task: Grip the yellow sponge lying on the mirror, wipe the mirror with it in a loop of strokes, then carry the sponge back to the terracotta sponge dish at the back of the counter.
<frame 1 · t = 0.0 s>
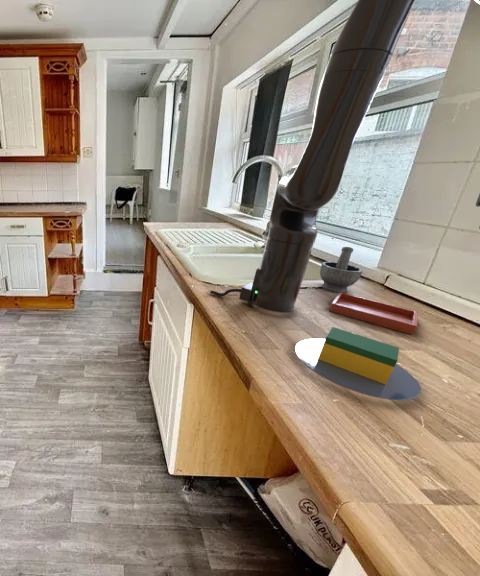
mirror: (349, 370, 53), on the countertop
mortar and pestle: (333, 288, 92), on the countertop
sponge dish: (370, 314, 75), on the countertop
sponge: (352, 364, 52), point 1 cm above the countertop, touching mirror
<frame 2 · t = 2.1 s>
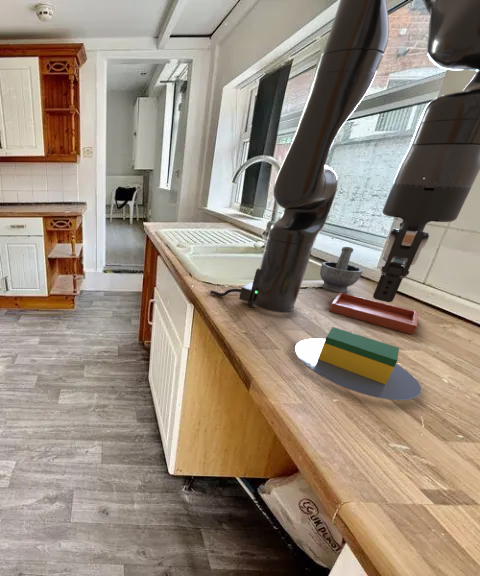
hand: (384, 293, 47), 15 cm above the countertop, tool pointing down, fingers open, 8 cm apart
nothing on the countertop moved.
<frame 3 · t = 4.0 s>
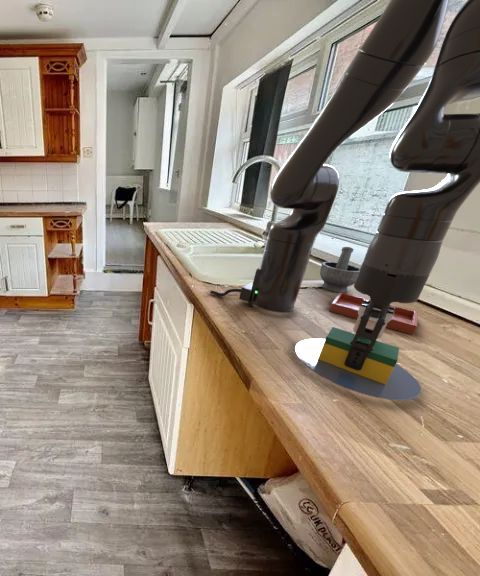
hand: (354, 359, 52), 2 cm above the countertop, tool pointing down, fingers closed on sponge, 5 cm apart
sponge: (352, 364, 52), point 1 cm above the countertop, touching gripper, mirror
everything else where it was.
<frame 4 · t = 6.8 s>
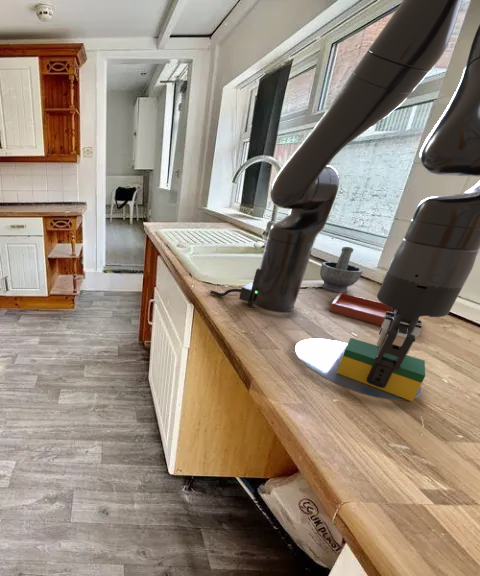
hand: (376, 375, 48), 2 cm above the countertop, tool pointing down, fingers closed on sponge, 5 cm apart
sponge: (373, 378, 49), point 1 cm above the countertop, touching gripper
everything else where it was.
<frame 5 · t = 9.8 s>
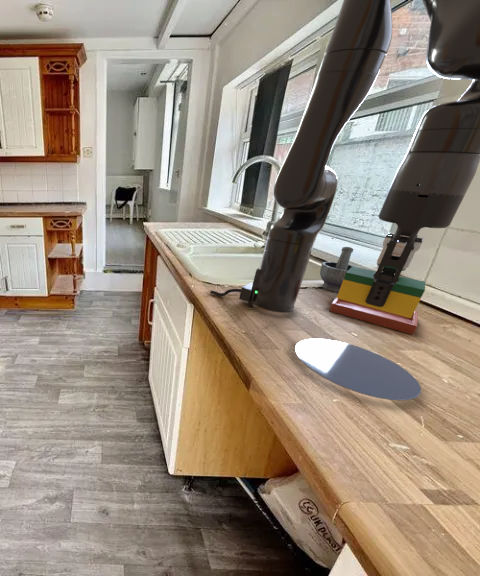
hand: (376, 299, 49), 13 cm above the countertop, tool pointing down, fingers closed on sponge, 5 cm apart
sponge: (373, 303, 49), point 12 cm above the countertop, touching gripper
everything else where it was.
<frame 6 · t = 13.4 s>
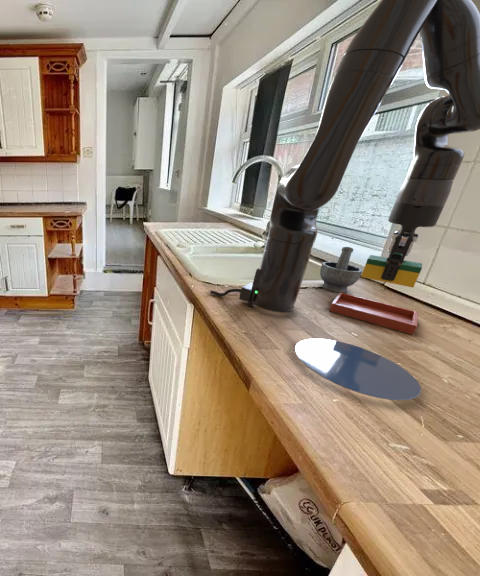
hand: (388, 276, 71), 10 cm above the countertop, tool pointing down, fingers closed on sponge, 5 cm apart
sponge: (387, 279, 71), point 9 cm above the countertop, touching gripper
everything else where it was.
when the fingers open (1 cm above the countertop, at t = 15.9 s): sponge stays where it is, resting on sponge dish.
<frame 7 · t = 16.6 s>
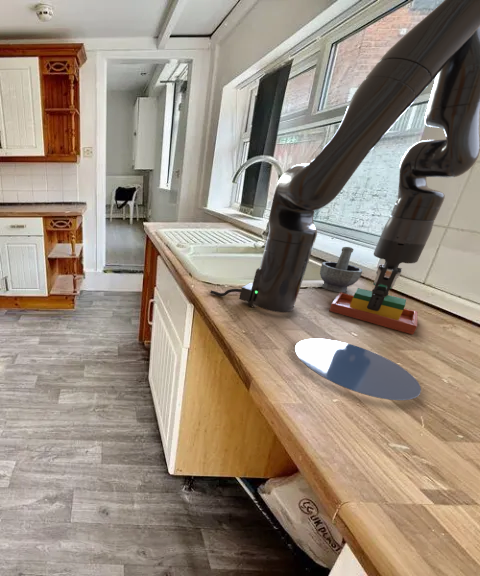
hand: (374, 304, 74), 3 cm above the countertop, tool pointing down, fingers open, 8 cm apart
sponge: (372, 313, 74), point 1 cm above the countertop, touching sponge dish
everything else where it was.
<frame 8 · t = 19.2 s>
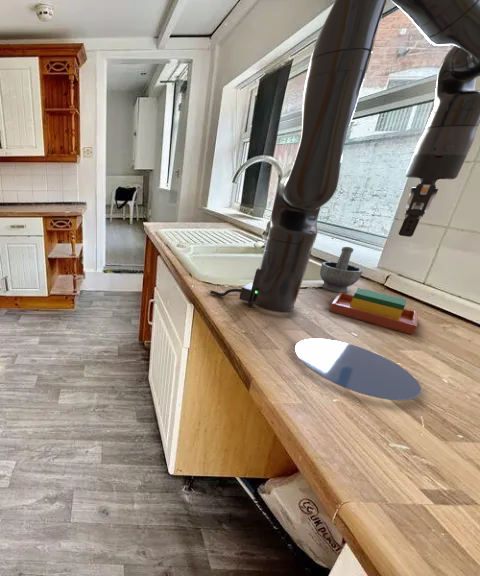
hand: (405, 233, 67), 20 cm above the countertop, tool pointing down, fingers open, 8 cm apart
nothing on the countertop moved.
at the end: sponge inside the target area in the sponge dish (0.2 cm from its centre), point 0.6 cm above the sponge dish's base; the gripper is holding nothing; sponge tilted 0° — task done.
